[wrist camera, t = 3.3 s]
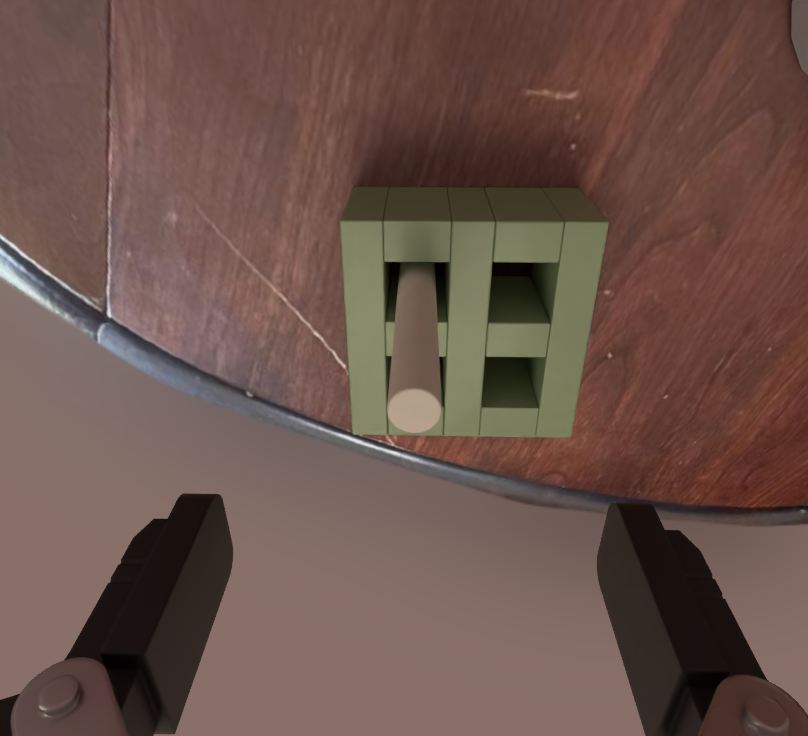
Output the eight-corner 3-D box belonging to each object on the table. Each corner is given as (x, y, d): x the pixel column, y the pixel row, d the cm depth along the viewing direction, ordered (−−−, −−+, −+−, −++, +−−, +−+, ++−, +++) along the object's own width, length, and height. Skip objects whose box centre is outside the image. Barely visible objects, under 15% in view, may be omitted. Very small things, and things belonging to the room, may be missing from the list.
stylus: (401, 264, 28) (387, 433, 16) (401, 233, 27) (386, 388, 16) (433, 264, 28) (441, 434, 16) (434, 233, 27) (442, 389, 16)
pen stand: (361, 376, 31) (352, 435, 27) (353, 186, 26) (339, 220, 22) (550, 378, 31) (571, 438, 26) (578, 187, 26) (610, 221, 21)
